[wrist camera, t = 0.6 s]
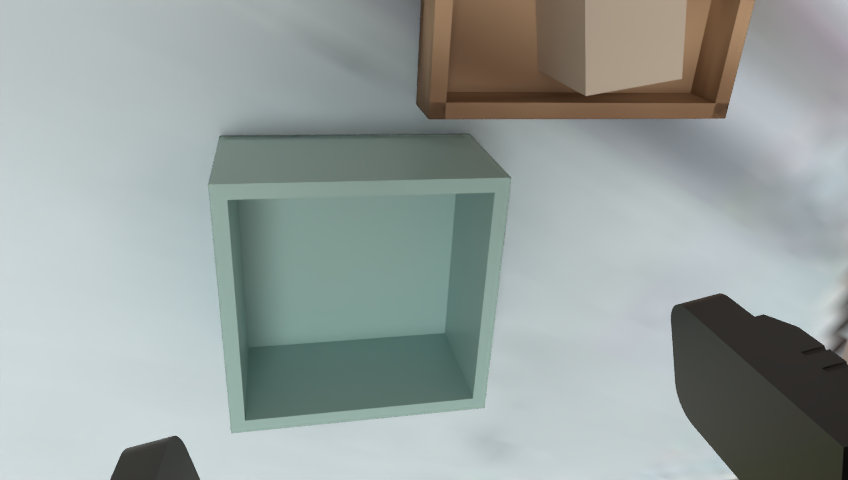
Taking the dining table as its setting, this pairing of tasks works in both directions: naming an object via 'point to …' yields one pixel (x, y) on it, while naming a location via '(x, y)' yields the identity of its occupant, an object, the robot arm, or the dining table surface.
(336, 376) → the teal bin
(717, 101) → the walnut tray
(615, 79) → the beige matte cube
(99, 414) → the dining table surface
